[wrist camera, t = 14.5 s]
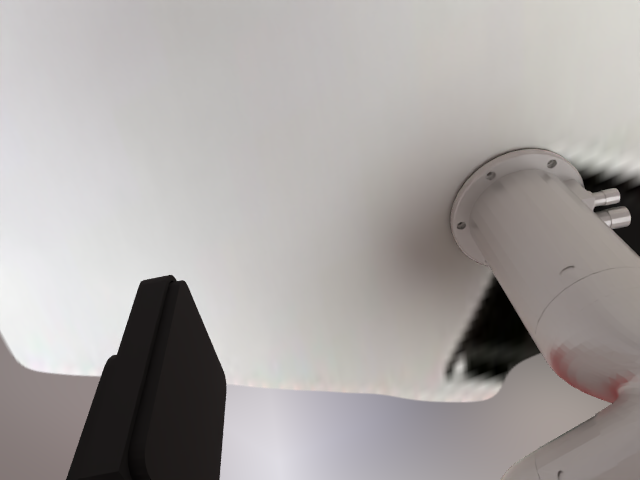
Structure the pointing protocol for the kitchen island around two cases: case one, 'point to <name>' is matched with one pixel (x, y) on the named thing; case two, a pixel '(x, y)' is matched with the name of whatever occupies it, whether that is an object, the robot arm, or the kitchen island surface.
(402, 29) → the kitchen island surface
